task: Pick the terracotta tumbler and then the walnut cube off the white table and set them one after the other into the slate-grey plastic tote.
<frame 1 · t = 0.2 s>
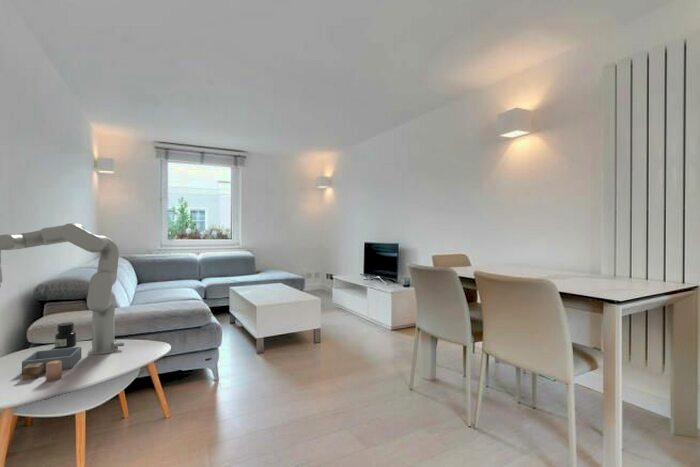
tote: (53, 365, 162), on the table
ink bottle: (65, 346, 190), on the table
walnut cube: (33, 377, 150), on the table
terracotta tumbler: (54, 379, 148), on the table
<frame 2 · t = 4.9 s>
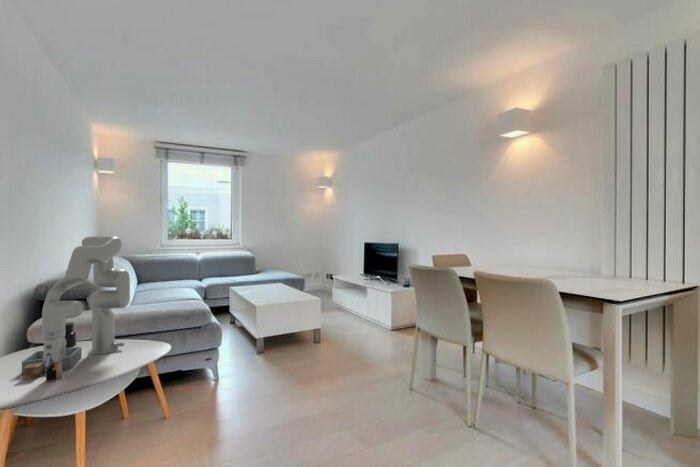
hand: (54, 376, 148), 1 cm above the table, fingers closed on terracotta tumbler, 5 cm apart
terracotta tumbler: (54, 379, 148), on the table, touching gripper
everything else where it was.
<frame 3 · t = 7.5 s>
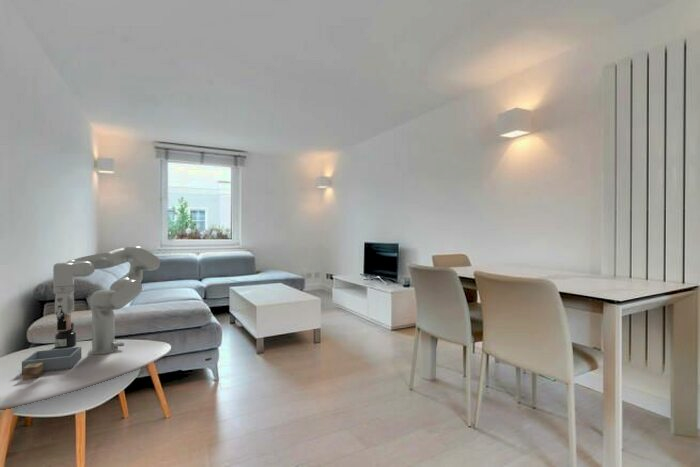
hand: (64, 327, 163), 17 cm above the table, fingers closed on terracotta tumbler, 5 cm apart
terracotta tumbler: (64, 329, 163), point 16 cm above the table, touching gripper
everything else where it was.
when the fingers open (4 cm above the table, at t = 10.3 s): terracotta tumbler drops 2 cm, resting on tote.
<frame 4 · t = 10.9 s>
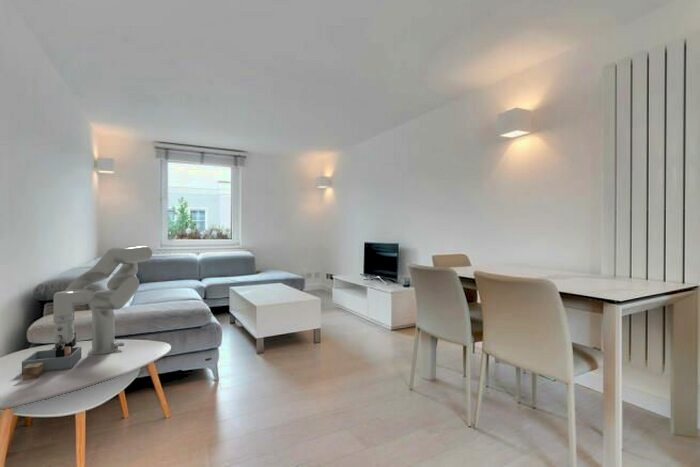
hand: (64, 354, 163), 5 cm above the table, fingers open, 9 cm apart
terracotta tumbler: (64, 363, 164), point 1 cm above the table, touching tote
everything else where it was.
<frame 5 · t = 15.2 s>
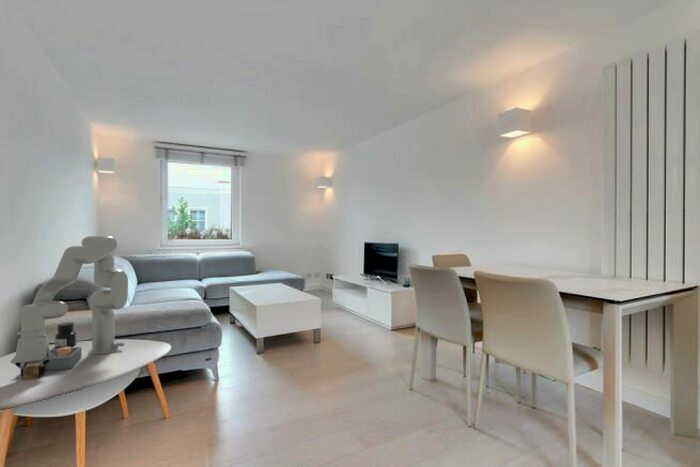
hand: (33, 375, 150), 0 cm above the table, fingers closed on walnut cube, 5 cm apart
walnut cube: (33, 376, 150), on the table, touching gripper
everything else where it was.
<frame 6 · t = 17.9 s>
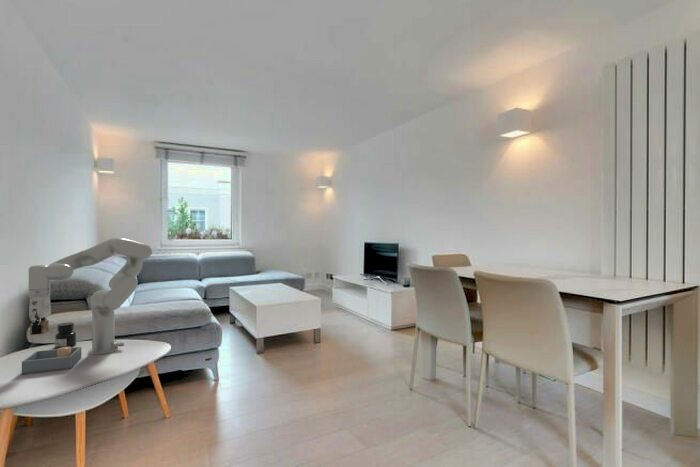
hand: (39, 331, 160), 16 cm above the table, fingers closed on walnut cube, 5 cm apart
walnut cube: (39, 332, 160), point 16 cm above the table, touching gripper
everything else where it was.
when the fingers open (4 cm above the table, at t = 20.4 s): walnut cube drops 2 cm, resting on tote.
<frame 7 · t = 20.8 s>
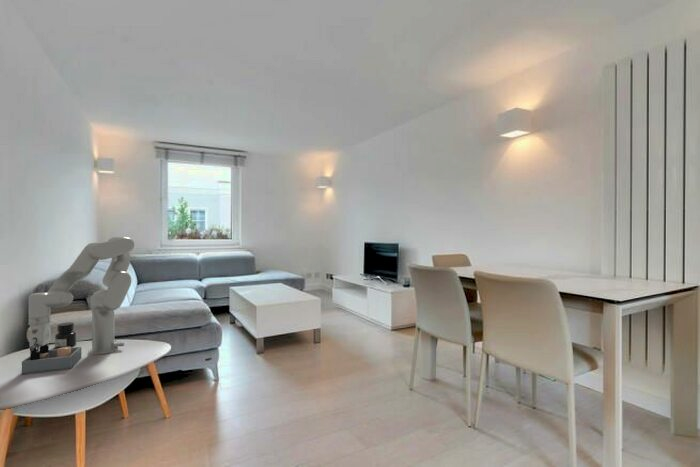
hand: (39, 357, 160), 4 cm above the table, fingers open, 8 cm apart
walnut cube: (39, 366, 160), point 1 cm above the table, touching tote
everything else where it was.
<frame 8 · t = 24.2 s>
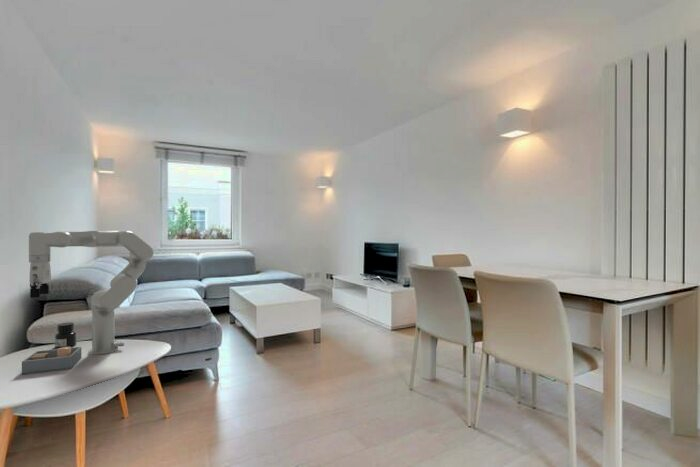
hand: (39, 295, 162), 32 cm above the table, fingers open, 9 cm apart
nothing on the table moved.
at the end: terracotta tumbler inside the target area on the tote (4.0 cm from its centre), point 0.6 cm above the tote's base; walnut cube inside the target area on the tote (5.0 cm from its centre), point 0.6 cm above the tote's base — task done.
